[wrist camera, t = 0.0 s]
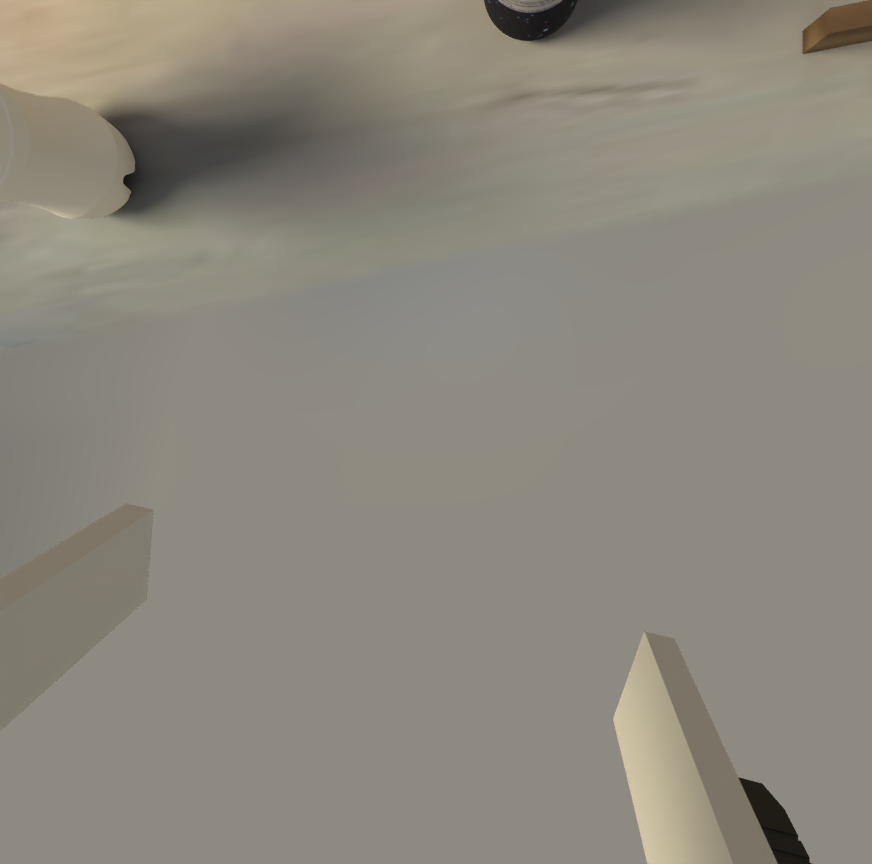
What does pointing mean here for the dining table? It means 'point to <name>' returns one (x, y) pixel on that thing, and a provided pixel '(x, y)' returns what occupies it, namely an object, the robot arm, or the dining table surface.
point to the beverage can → (529, 16)
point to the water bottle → (61, 156)
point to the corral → (839, 27)
